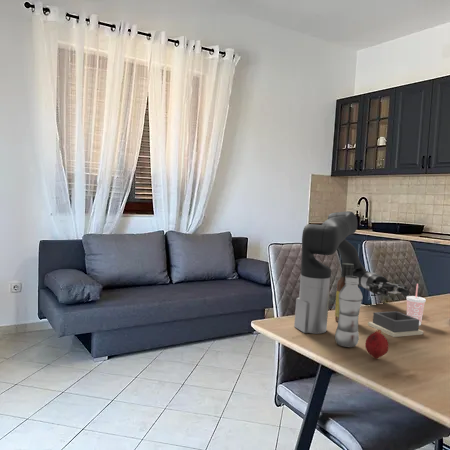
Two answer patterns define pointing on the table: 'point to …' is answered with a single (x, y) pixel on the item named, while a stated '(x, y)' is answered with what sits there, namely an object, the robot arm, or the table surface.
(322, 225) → the robot arm
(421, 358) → the table surface
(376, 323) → the grey tray on board
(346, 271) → the sauce bottle
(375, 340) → the onion
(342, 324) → the plastic bottle
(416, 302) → the beverage cup
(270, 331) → the table surface
